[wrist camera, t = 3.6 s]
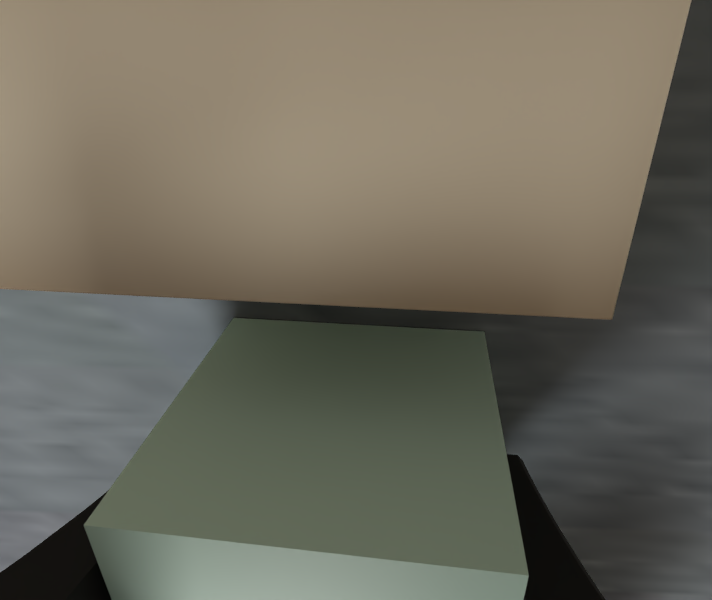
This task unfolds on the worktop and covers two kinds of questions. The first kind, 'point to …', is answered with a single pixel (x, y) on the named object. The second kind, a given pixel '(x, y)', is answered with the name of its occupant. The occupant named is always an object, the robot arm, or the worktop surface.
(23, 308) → the worktop surface
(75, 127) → the birch plinth
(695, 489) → the worktop surface
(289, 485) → the sage cube
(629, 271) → the worktop surface
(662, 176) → the worktop surface
